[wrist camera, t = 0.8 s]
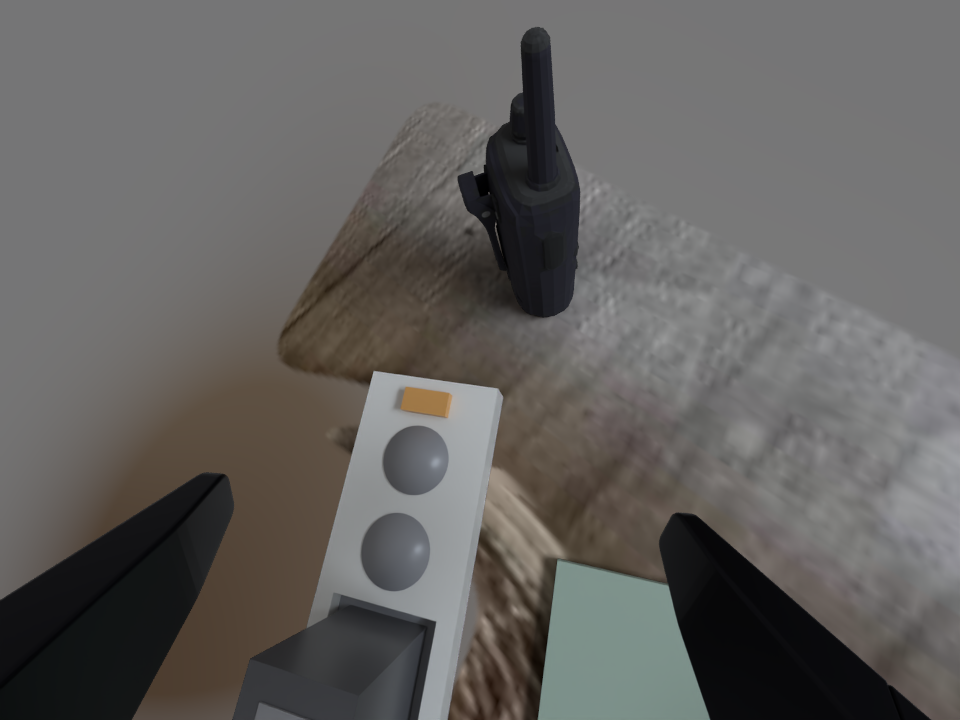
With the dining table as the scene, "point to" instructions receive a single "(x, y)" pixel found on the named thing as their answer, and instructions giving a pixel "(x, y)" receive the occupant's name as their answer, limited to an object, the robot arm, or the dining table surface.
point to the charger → (337, 671)
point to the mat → (615, 651)
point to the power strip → (414, 517)
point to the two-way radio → (530, 191)
